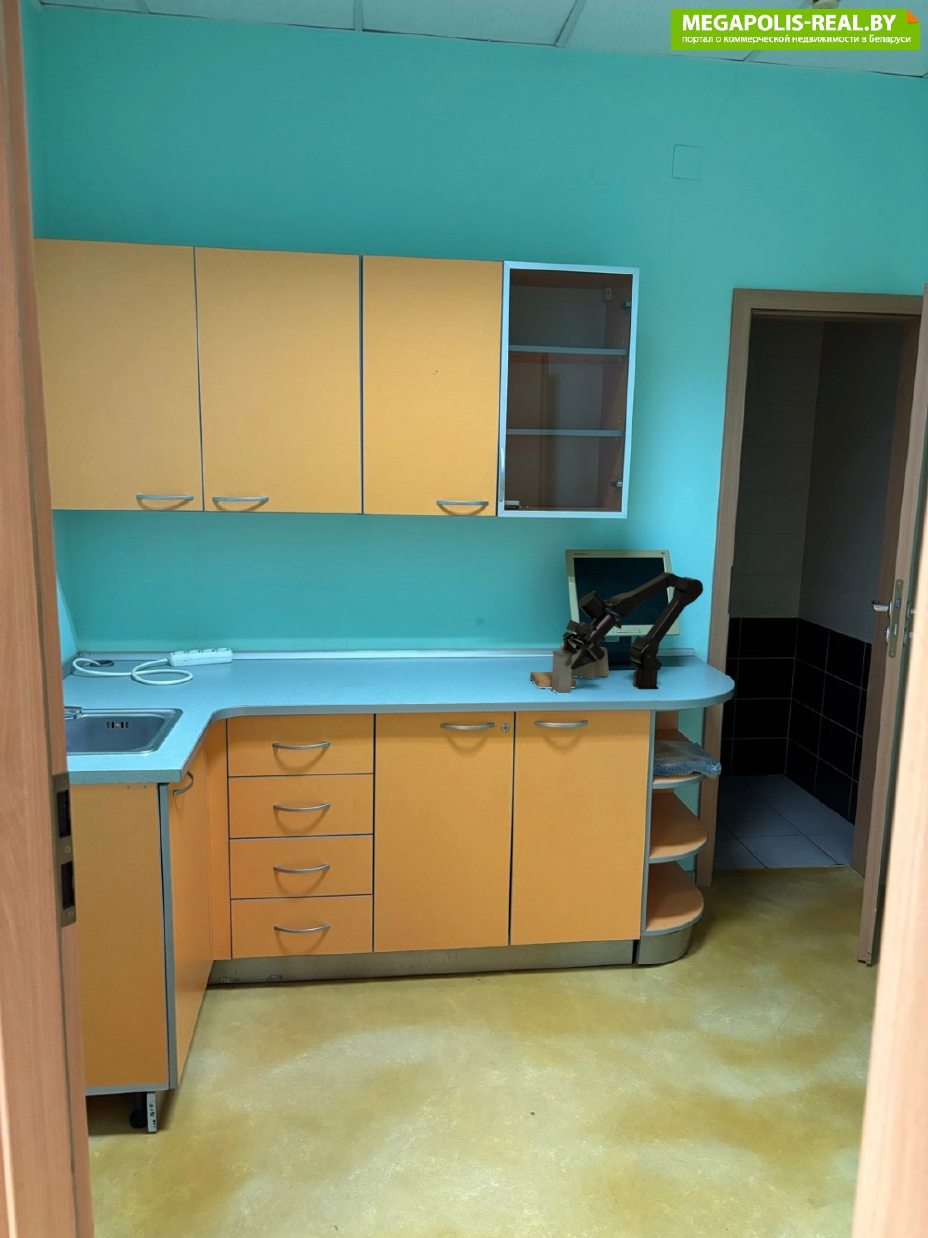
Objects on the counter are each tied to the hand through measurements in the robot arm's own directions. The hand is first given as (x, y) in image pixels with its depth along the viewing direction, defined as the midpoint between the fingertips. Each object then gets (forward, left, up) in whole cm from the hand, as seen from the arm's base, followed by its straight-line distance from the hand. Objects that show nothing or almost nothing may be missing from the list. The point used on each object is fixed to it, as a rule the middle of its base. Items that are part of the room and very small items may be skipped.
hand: (564, 665), depth 285 cm
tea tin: (+1, 0, -9) cm, 9 cm away
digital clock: (-12, -22, -9) cm, 27 cm away
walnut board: (+1, -11, -9) cm, 14 cm away
